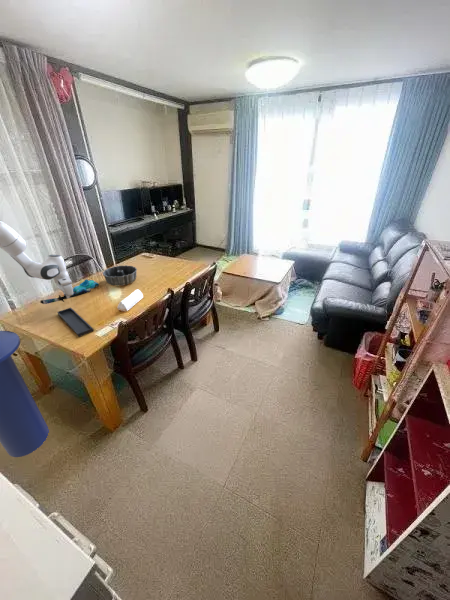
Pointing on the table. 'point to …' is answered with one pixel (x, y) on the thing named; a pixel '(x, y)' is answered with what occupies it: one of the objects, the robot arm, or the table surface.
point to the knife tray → (75, 322)
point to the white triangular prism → (130, 300)
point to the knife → (64, 297)
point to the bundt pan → (120, 275)
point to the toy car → (85, 285)
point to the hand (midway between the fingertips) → (67, 297)
